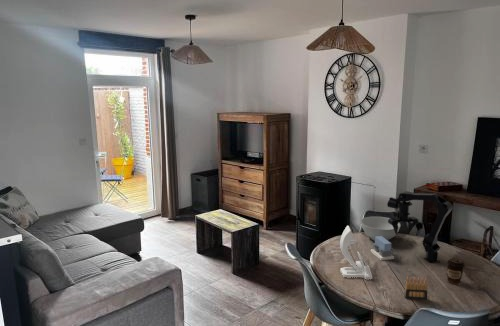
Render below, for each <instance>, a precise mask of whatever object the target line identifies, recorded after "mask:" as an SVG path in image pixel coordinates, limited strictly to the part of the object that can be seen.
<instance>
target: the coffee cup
mask: <svg viewBox="0 0 500 326" xmlns="http://www.w3.org/2000/svg"><path fill="white" fill-rule="evenodd" d="M446 263H447V264H446V265H447V267H446V271H447V272H446V275H447V276H446V277H447V281H446V282H448V283H449V284H452V285H461V280H462V276H463V272H464V267H465V265H466V264H465V263H464V260H463V259H460V258H455V257H452V258H448V260H447V261H446Z"/></svg>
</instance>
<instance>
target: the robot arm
mask: <svg viewBox="0 0 500 326" xmlns="http://www.w3.org/2000/svg"><path fill="white" fill-rule="evenodd" d="M411 201H430V202H432V203H433V205H434V206H435V207H436V208H437V216H436V219H435V220H434V223H433V225H432V227H431V230H430V232H429V233H427V234H426V235H424V237H423V240H421V242H422V246H423V247H424V251H425V252H426V253H425V257H423V259H424V260H425V261H427V262H428V263H430V264H432V263H440V260H438V257H439V252H438V251H440V249H441V246H440V245H439V244H438V235H439V232H440V230H441V228H442V226H443V224H444V222H445V220H446V218H447V217H448V215H449V214H450V213H451V211H452V210H453V209H454V206H453V203H451V202H450V201H448V200H447V199H445V198H443V197H442V196H440V194H438V193H419V192H417V193H416V192H412V191H407V190H406V191H403V192H400V193H399V194H398V197H397V198H396V197H395V198H394V197H389V200H388V201H387V203H386V204H387V207H388V208H390V209H394V210H397V212H396V211H391V213H390V214H391V217H392V218H390V219H388V223H389V224H391V225H392V226H393V228H394V231H395V234H396V235H397V234H398V233H397V231H398V223H400V224H401V223H407V225H408V226H407V227H408V228H407V233H408V234H410V233H411V232H412V229H414V227H415V226H416V225H417V224H419V218H417V217H415V216H409V215H411V213H410V211H409V210H410V207H411V206H413V202H411ZM398 232H399V231H398Z"/></svg>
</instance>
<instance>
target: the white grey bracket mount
mask: <svg viewBox="0 0 500 326" xmlns="http://www.w3.org/2000/svg"><path fill="white" fill-rule="evenodd" d="M371 245H373V248H372V249H370V252H371V253H372V254H373V255H374V256H376V258H378V259H379V260H380V261H388V260H394V259H395V256H394V255H393V254H392V251H394V248H393V247H391V251H383V250H382V249H381V248H379V247H378V246H377V245H376V244H375V242H372V243H371Z"/></svg>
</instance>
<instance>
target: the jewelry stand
mask: <svg viewBox="0 0 500 326" xmlns="http://www.w3.org/2000/svg"><path fill="white" fill-rule="evenodd" d="M344 228H345V229H344V230H343V232H342V234H341V236H340V241H339V247H340V250H341V253H342V255H343V256H344V258H345V259H346V260H347V262H348V263H349V264H350V265H351V266H348V267H347V266H345V267H340V268H339V269H340V270H339V271H340V274H341V273H342V274H341V275H343V276H342V278H344V277H347V278H346V279H358V278H357V277H362V278H361V279H366V280H365V281H367V280H368V281H369V279H370V280H371V279H372V280H373V273H372V271H371V268H370V266H369V264H367V263H366V261H365V259H364V258H363V257H362V255H361V254H360V252H359V251H356V252H357V255H358V258H359V259H358V260H356V261H354V260H353V258H352V256H351V254H350V253H349V252H350V251H349V246H351V245H355V244H357V243H356V240H355V237H354V235H353V233H352V230H351V228H350V226H349V225H346V227H344ZM356 265H357V266H356ZM351 277H352V278H351ZM353 277H354V278H353ZM355 277H356V278H355Z"/></svg>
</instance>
